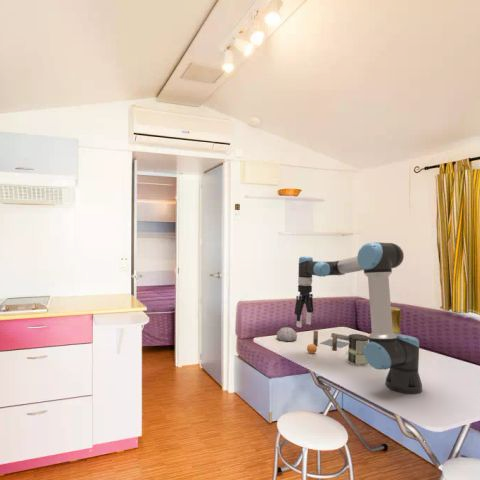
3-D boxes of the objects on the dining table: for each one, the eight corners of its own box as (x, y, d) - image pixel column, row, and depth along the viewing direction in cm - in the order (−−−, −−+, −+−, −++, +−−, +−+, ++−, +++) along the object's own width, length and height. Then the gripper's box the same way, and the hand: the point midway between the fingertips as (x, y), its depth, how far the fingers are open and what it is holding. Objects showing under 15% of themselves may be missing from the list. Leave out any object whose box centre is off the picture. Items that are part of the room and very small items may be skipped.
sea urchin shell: (276, 342, 244) (276, 329, 244) (276, 336, 257) (276, 324, 257) (297, 343, 243) (298, 330, 243) (296, 337, 256) (296, 325, 256)
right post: (335, 351, 227) (336, 335, 227) (331, 350, 229) (331, 334, 228) (337, 350, 229) (337, 334, 229) (333, 349, 231) (333, 334, 230)
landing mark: (340, 347, 234) (340, 347, 234) (319, 343, 243) (319, 343, 243) (350, 343, 244) (350, 343, 244) (329, 339, 253) (329, 339, 253)
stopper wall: (357, 342, 248) (357, 338, 248) (331, 337, 259) (331, 333, 259) (358, 341, 249) (358, 337, 249) (332, 336, 261) (332, 332, 261)
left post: (316, 346, 235) (316, 331, 235) (312, 345, 237) (312, 331, 236) (318, 345, 237) (318, 331, 237) (314, 345, 239) (314, 330, 238)
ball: (313, 355, 216) (313, 345, 216) (305, 353, 220) (305, 343, 220) (318, 353, 221) (318, 343, 221) (309, 351, 224) (310, 342, 224)
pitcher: (366, 341, 248) (370, 303, 247) (396, 344, 247) (399, 305, 246) (374, 350, 231) (378, 309, 230) (406, 353, 230) (410, 311, 229)
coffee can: (345, 363, 204) (346, 336, 204) (350, 358, 213) (351, 333, 213) (365, 367, 199) (366, 339, 199) (369, 362, 208) (370, 335, 208)
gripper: (300, 287, 202) (299, 330, 202) (320, 284, 219) (319, 323, 219) (288, 285, 206) (287, 327, 206) (308, 282, 223) (307, 321, 223)
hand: (303, 325), depth 213 cm, fingers open, 9 cm apart
